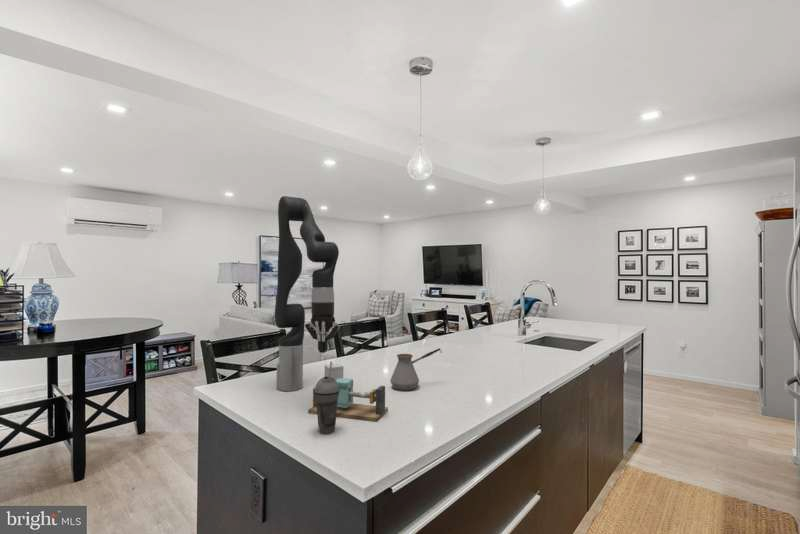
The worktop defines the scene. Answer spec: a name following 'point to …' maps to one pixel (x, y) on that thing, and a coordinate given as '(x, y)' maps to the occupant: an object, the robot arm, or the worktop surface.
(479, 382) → the worktop surface
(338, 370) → the skincare box
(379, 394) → the rail stand
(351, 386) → the sleeve
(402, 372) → the coffee pot
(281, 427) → the worktop surface
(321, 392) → the beverage cup
